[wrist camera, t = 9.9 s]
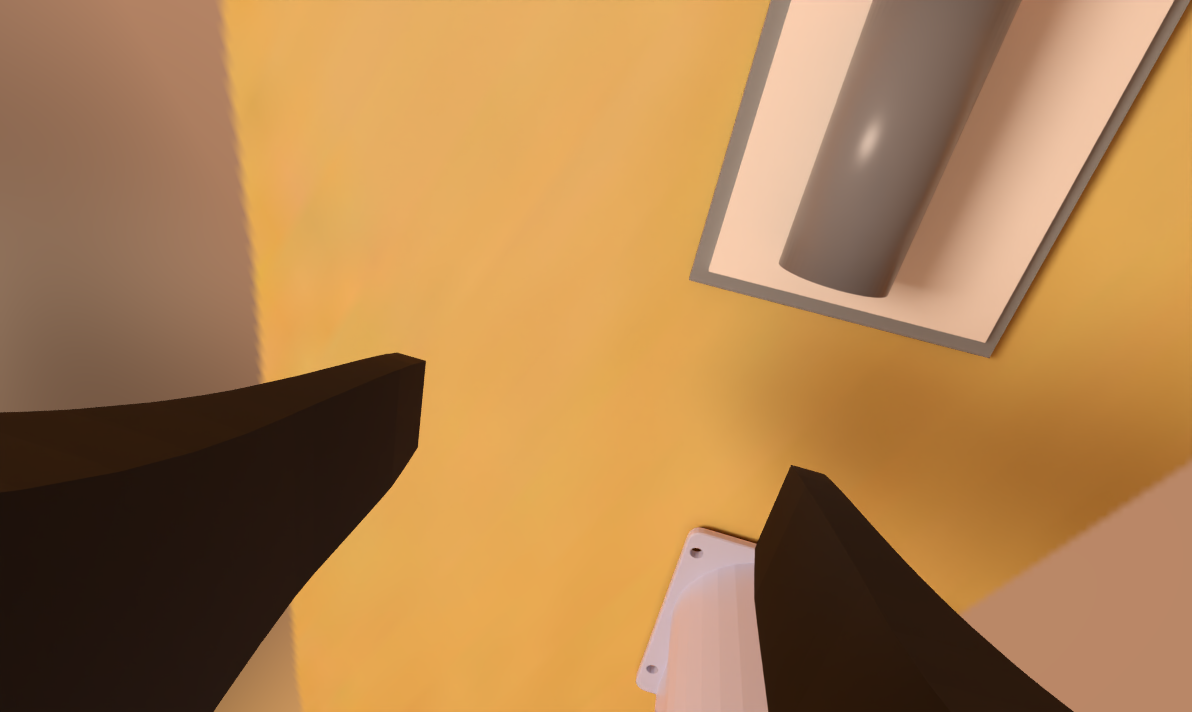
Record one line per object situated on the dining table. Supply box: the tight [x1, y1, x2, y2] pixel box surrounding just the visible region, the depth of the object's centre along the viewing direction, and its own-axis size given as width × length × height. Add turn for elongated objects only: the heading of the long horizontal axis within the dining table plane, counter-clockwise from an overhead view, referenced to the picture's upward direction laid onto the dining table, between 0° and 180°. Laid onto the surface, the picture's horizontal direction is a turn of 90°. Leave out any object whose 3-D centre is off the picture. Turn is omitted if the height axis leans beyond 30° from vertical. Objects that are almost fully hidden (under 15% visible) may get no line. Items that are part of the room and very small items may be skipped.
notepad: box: [689, 0, 1190, 358], centre depth 15 cm, size 13×10×1 cm
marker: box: [779, 0, 1022, 298], centre depth 13 cm, size 10×3×3 cm
